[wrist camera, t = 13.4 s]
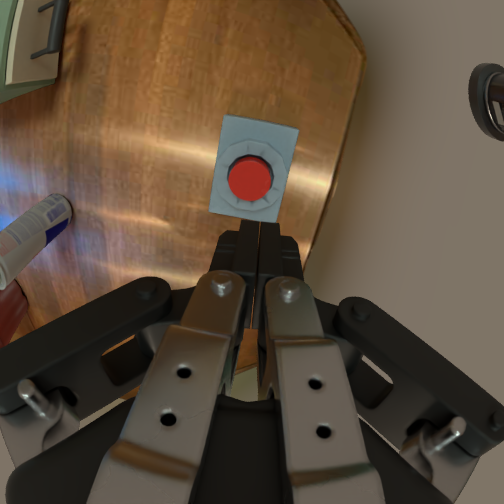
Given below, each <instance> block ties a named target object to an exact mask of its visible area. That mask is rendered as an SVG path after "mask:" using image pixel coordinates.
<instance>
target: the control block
mask: <svg viewBox="0 0 504 504" xmlns="http://www.w3.org/2000/svg"><path fill="white" fill-rule="evenodd" d="M298 133H299V130H298V129H297V128H296V127H292V126H288V125H283V124H279V123H274V122H270V121H265V120H260V119H254V118H249V117H244V116H238V115H232V114H226V115H224V117H223V123H222V128H221V134H220V140H219V146H218V152H217V158H216V164H215V170H214V177H213V183H212V190H211V197H210V204H209V212H213V213H218V214H224V215H229V216H234V217H240V218H245V219H250V220H255V221H260V222H261V221H263V222H273V223H276V220H277V216H278V213H279V209H280V205H281V201H282V197H283V193H284V190H285V186H286V182H287V178H288V174H289V170H290V166H291V162H292V158H293V154H294V150H295V146H296V142H297V137H298ZM245 157H255V158H258V159H260V160H262V161H263V162H265V163H266V165H267V166H268V168H269V170H270V175H271V185H270V188H269V190H268V192H267V193H266V195H264V196H263V197H262V198H260V199H258V200H254V201H246V200H242V199H240V198H238V197H237V196H235V195H234V194H233V192H232V191H231V189H230V187H229V182H228V179H229V174H230V172H231V170H232V168H233V166H234V164H235V163H236V162H237V161H239V160H240V159H242V158H245Z"/></svg>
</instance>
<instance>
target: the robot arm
mask: <svg viewBox="0 0 504 504" xmlns="http://www.w3.org/2000/svg"><path fill="white" fill-rule="evenodd" d="M483 98H484V106H485V110H486V113H487V116H488V118H489V120H490V122H491V124H492V125H493V127H494V128H495V129H496V130H497V131H499V132H501V133H503V134H504V73H501V72H493V73H491V74H490V75H489V76H488V77H487V79H486V81H485V84H484V90H483ZM259 222H260V221H252V220H242V219H241V224H240V229H239V231H230V230H227V231H225V232H224V233H223V234H222V235H220V236H219V240H218V243H217V246H216V249H215V252H214V256H213V259H212V262H211V265H210V269H209V272H208V273H206V274H204V275H203V276H202V277H201V278H200V279H199V281H198V283H197V285H196V286H194V287H191V288H187V289H178V290H171V288H170V285H169V284H168V283H167V282H166V281H165V280H163V279H161V278H158V277H142V278H139V279H136V280H134V281H132V282H130V283H128V284H126V285H124V286H121V287H119V288H117V289H115V290H113V291H111V292H109V293H107V294H105V295H103V296H101V297H99V298H97V299H95V300H93V301H91V302H89V303H87V304H85V305H83V306H81V307H79V308H77V309H75V310H73V311H71V312H69V313H67V314H65V315H63V316H61V317H59V318H57V319H55V320H53V321H51V322H50V323H48V324H46V325H44V326H42V327H40V328H38V329H36V330H34V331H32V332H30V333H28V334H27V335H25V336H23V337H21V338H19V339H17V340H15V341H13V342H12V343H10V344H8V345H6V346H4V347H2V348H0V429H1V432H2V435H3V438H4V441H5V444H6V446H7V449H8V451H9V454H10V456H11V459H12V461H13V463H14V466H15V468H16V469H15V470H14V471H13V472H12V474H11V475H10V477H9V479H8V482H7V485H6V494H5V495H6V503H7V504H454V503H455V501H456V500H457V498H458V497H459V495H460V493H461V492H462V490H463V488H464V487H465V485H466V483H467V481H468V479H469V478H470V476H471V474H472V472H473V470H474V468H475V466H476V464H477V463H478V460H479V458H480V457H481V456H482V455H483V454H484V453H486V452H488V451H489V450H491V449H492V448H494V447H495V446H496V445H498V444H500V443H501V442H502V441H503V440H504V406H503V405H502V404H501V403H499V402H498V401H497V400H496V399H495V398H493V397H492V396H491V395H490V394H489V393H487V392H486V391H485V390H484V389H483V388H481V387H480V386H479V385H478V384H477V383H475V382H474V381H473V380H472V379H471V378H469V377H468V376H467V375H466V374H464V373H463V372H462V371H461V370H459V369H458V368H457V367H456V366H454V365H453V364H452V363H451V362H449V361H448V360H447V359H446V358H444V357H443V356H442V355H441V354H439V353H438V352H437V351H436V350H434V349H433V348H432V347H430V346H429V345H428V344H427V343H425V342H424V341H422V340H421V339H420V338H419V337H417V336H416V335H415V334H414V333H412V332H411V331H410V330H408V329H407V328H406V327H404V326H403V325H402V324H400V323H399V322H398V321H397V320H395V319H394V318H393V317H391V316H390V315H388V314H387V313H386V312H385V311H383V310H382V309H381V308H379V307H378V306H377V305H375V304H374V303H372V302H371V301H369V300H367V299H364V298H361V297H347V298H345V299H343V300H342V301H341V302H340V303H339V306H336V305H333V304H330V303H326V302H323V301H321V300H319V299H317V298H315V297H314V296H313V294H312V290H311V289H310V287H309V286H308V285H307V284H306V283H305V282H304V278H303V271H302V265H301V260H300V254H299V248H298V243H297V242H296V241H295V240H294V239H293V238H292V237H291V236H281V235H280V225H279V223H273V222H263V221H261V226H260V235H259ZM258 238H259V244H258ZM254 288H255V290H254ZM253 297H254V304H253ZM252 305H253V318H252V329H258V339H257V345H256V358H257V381H258V401H253V402H245V401H241V400H238V399H235V398H232V397H230V395H231V389H232V385H233V380H234V375H235V370H236V365H237V361H238V356H239V351H240V344H241V342H242V340H243V335H244V328H249V329H250V322H251V314H252ZM134 334H135V335H136V337H135V338H133V339H131V340H130V341H128V342H126V343H124V344H123V345H121V346H119V347H117V348H116V349H114V350H112V351H110V352H109V353H107V354H105V355H103V356H102V354H103V353H104V352H105V351H106V350H108V349H109V348H111V347H113V346H115V345H116V344H118V343H120V342H122V341H123V340H125V339H127V338H129V337H130V336H132V335H134ZM363 355H365V356H366V357H367V358H368V359H369V360H371V361H372V362H373V363H374V364H375V365H376V366H378V367H379V368H380V369H381V370H382V371H384V372H385V373H386V374H388V376H389V377H390V378H391V379H392V381H393V384H391V383H389V382H388V381H386V380H385V379H384V378H383V377H382V376H380V375H379V374H378V373H377V372H376V371H374V370H373V369H372V368H371V367H370V366H368V364H366V363H365V362H364V361H363V360H362V357H363ZM140 384H141V386H140V388H139V391H138V393H137V395H136V396H135V397H132V398H130V399H128V400H126V401H124V402H122V403H120V404H119V405H117V406H116V407H114V408H113V409H111V410H110V411H108V412H107V413H105V414H104V415H102V416H100V417H99V418H97V419H96V420H94V421H93V422H91V423H90V424H88V425H86V426H85V427H83V428H82V429H80V430H79V425H80V421H81V420H83V419H84V418H86V417H88V416H90V415H91V414H93V413H95V412H96V411H98V410H100V409H101V408H103V407H105V406H106V405H108V404H110V403H111V402H113V401H115V400H116V399H118V398H120V397H121V396H123V395H124V394H126V393H128V392H129V391H131V390H132V389H134V388H136V387H137V386H139V385H140ZM357 413H358V414H359V415H361V416H362V417H363V418H364V419H365V420H366V421H367V422H368V423H369V424H370V425H372V426H373V427H374V428H375V429H376V430H377V431H378V432H379V433H380V434H382V435H383V436H384V437H385V438H386V439H387V440H388V441H390V442H391V443H392V444H393V445H394V446H395V447H396V448H398V449H399V450H400V451H399V454H398V453H397V452H396V451H395V450H394V449H393V448H392V447H391V446H390V445H389V444H388V443H386V441H384V440H383V439H382V438H381V437H380V436H379V435H378V434H377V433H376V432H375V431H374V430H373V429H372V428H371V427H370V426H369V425H368V424H367V423H365V422H364V421H363V420H361V419H360V418H359V417H358V415H357Z"/></svg>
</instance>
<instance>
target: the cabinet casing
mask: <svg viewBox="0 0 504 504" xmlns="http://www.w3.org/2000/svg"><path fill="white" fill-rule="evenodd" d="M17 3H18V0H0V104H1V103H3V102H5V101H8V100H10V99H12V98H15V97H17V96H20V95H22V94H25V93H28V92H30V91H33V90H36V89H39V88H42V87H45V86H48V85H51V84H54V83H55V78H53V79H48V80H38V81H30V82H22V83H16V84H10V85H6V84H5V68H6V58H7V50H8V43H9V36H10V31H11V25H12V20H13V16H14V12H15V8H16V4H17Z"/></svg>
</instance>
